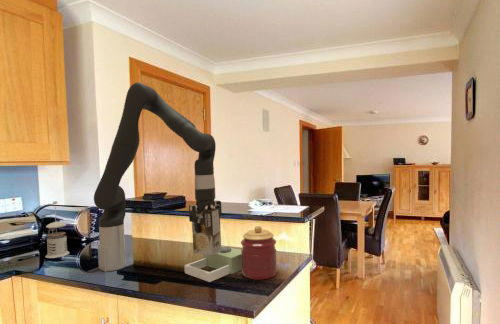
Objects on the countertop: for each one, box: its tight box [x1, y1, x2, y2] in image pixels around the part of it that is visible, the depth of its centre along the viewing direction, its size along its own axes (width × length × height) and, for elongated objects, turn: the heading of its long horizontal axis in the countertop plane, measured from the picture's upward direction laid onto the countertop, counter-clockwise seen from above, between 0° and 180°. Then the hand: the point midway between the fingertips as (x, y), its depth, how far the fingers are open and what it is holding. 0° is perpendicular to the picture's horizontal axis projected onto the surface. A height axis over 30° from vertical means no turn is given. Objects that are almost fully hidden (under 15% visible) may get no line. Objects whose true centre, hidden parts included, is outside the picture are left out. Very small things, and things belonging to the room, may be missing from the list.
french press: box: [44, 200, 70, 259], centre depth 148 cm, size 10×12×25 cm
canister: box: [240, 225, 278, 281], centre depth 116 cm, size 13×13×18 cm
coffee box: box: [191, 208, 222, 255], centre depth 118 cm, size 9×6×16 cm
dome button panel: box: [184, 244, 242, 283], centre depth 121 cm, size 19×16×7 cm
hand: (206, 230), depth 118 cm, fingers closed on coffee box, 7 cm apart
